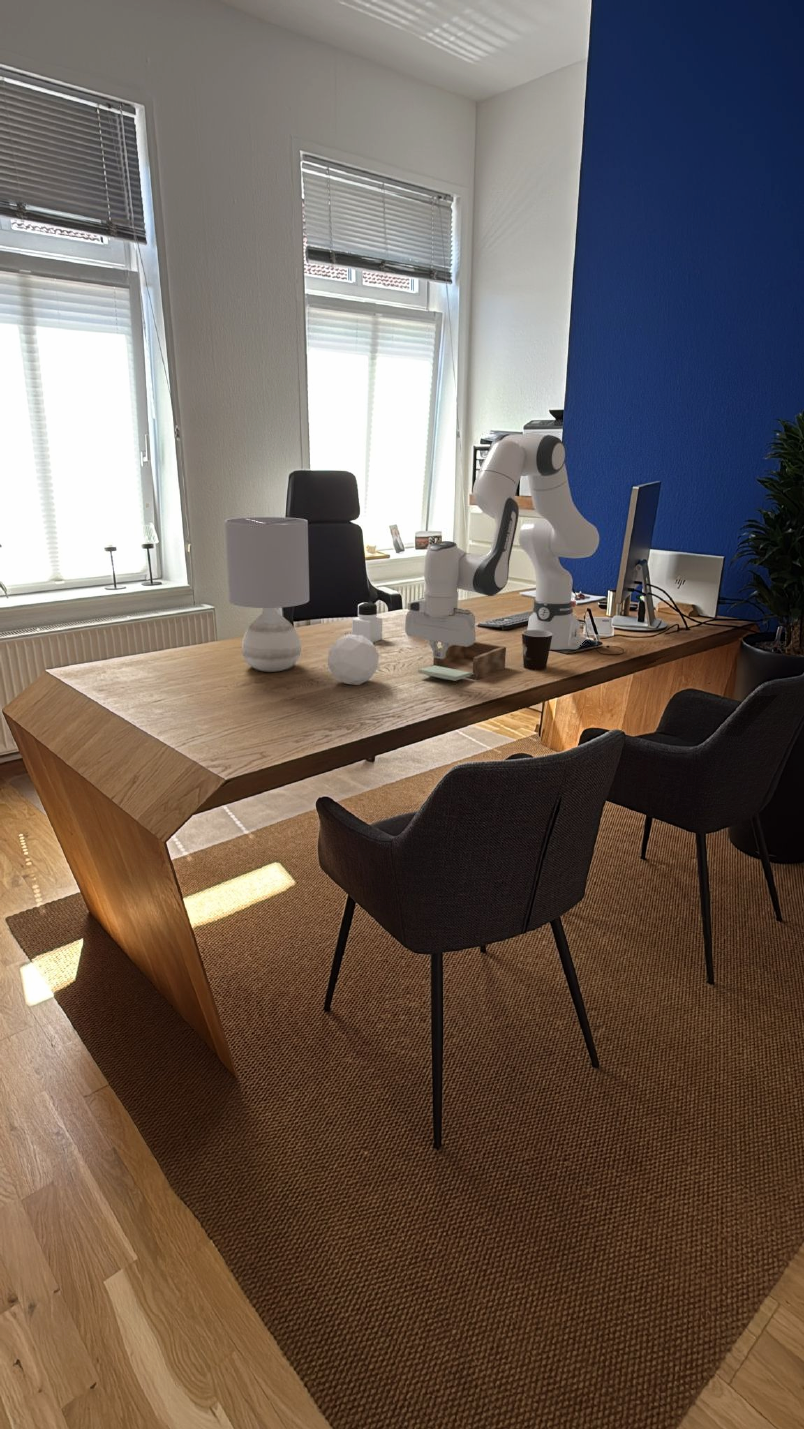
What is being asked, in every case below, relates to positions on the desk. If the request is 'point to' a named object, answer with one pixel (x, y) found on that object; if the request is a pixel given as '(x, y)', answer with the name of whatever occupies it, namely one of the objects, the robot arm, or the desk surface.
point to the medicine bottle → (368, 622)
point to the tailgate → (444, 673)
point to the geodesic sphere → (353, 659)
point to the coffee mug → (536, 649)
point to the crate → (473, 659)
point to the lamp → (268, 584)
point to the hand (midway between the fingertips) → (439, 657)
